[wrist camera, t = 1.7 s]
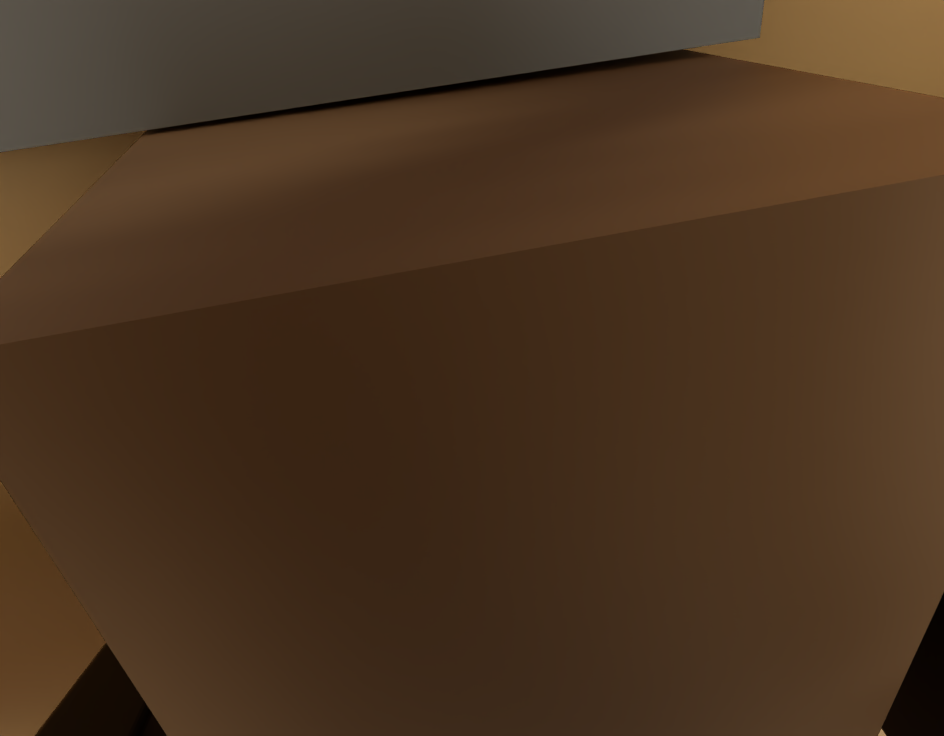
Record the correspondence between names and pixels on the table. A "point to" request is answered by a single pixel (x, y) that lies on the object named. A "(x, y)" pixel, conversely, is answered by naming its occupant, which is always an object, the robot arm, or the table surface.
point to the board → (303, 53)
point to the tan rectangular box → (501, 406)
